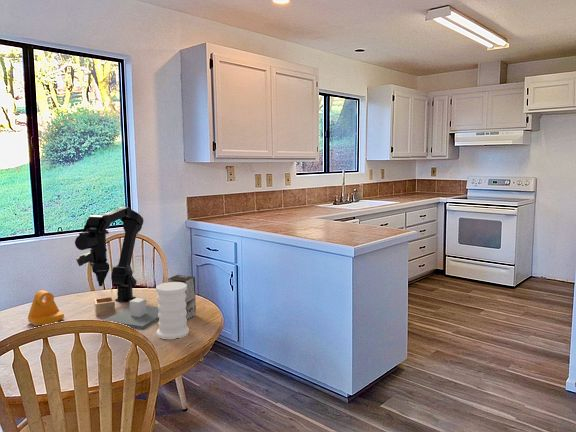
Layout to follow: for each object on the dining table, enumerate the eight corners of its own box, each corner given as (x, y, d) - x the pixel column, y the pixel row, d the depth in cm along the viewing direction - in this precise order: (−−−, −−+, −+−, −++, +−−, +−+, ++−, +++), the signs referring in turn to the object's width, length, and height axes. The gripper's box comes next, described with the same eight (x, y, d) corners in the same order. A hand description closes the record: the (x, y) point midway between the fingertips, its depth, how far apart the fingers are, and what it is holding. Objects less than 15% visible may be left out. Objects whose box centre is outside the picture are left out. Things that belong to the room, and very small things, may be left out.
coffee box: (196, 315, 182) (195, 276, 180) (186, 320, 177) (185, 280, 174) (178, 311, 186) (177, 274, 184) (168, 316, 180) (167, 278, 178)
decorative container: (163, 342, 156) (161, 292, 153) (152, 332, 165) (150, 284, 162) (194, 335, 162) (193, 287, 160) (181, 325, 172) (180, 279, 169)
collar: (94, 310, 187) (94, 299, 186) (113, 307, 190) (112, 296, 190) (96, 316, 181) (95, 304, 180) (115, 313, 184) (114, 301, 183)
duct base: (134, 306, 192) (134, 290, 191) (171, 311, 186) (171, 294, 185) (102, 323, 173) (101, 305, 172) (142, 329, 167) (141, 310, 166)
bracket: (35, 328, 168) (33, 297, 166) (28, 323, 173) (26, 293, 171) (65, 320, 176) (63, 290, 174) (57, 315, 181) (55, 287, 179)
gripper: (75, 243, 186) (77, 280, 187) (77, 251, 169) (79, 291, 171) (104, 242, 191) (105, 277, 193) (109, 249, 174) (110, 288, 176)
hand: (99, 283), depth 183 cm, fingers open, 9 cm apart
